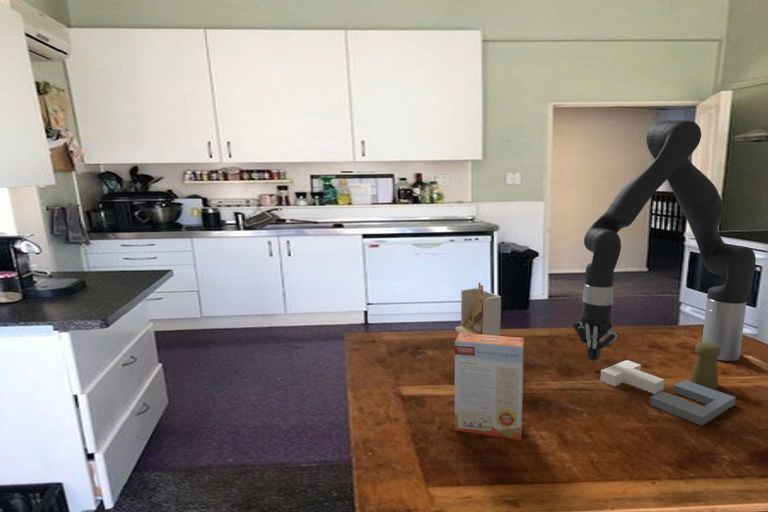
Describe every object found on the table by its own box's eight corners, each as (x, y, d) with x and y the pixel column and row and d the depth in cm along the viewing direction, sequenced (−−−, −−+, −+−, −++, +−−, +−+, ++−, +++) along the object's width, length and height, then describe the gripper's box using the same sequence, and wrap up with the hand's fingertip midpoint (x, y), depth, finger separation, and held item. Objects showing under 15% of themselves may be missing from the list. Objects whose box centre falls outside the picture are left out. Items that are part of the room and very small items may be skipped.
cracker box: (521, 426, 99) (525, 336, 95) (520, 442, 94) (524, 347, 90) (458, 417, 104) (459, 330, 100) (453, 431, 98) (454, 340, 94)
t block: (600, 380, 120) (600, 370, 119) (625, 369, 126) (626, 359, 126) (645, 399, 110) (646, 387, 109) (671, 386, 116) (672, 375, 115)
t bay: (649, 404, 107) (650, 397, 107) (683, 387, 115) (684, 379, 115) (701, 425, 98) (702, 417, 98) (734, 404, 106) (735, 397, 106)
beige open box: (474, 355, 139) (475, 275, 135) (499, 369, 129) (501, 283, 125) (453, 360, 136) (453, 278, 131) (477, 375, 126) (478, 287, 121)
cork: (723, 390, 113) (727, 348, 111) (696, 388, 114) (700, 347, 113) (711, 379, 119) (715, 340, 117) (685, 378, 120) (689, 338, 118)
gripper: (628, 303, 121) (623, 364, 124) (584, 293, 132) (580, 349, 135) (612, 308, 117) (607, 371, 120) (568, 297, 128) (564, 355, 131)
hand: (593, 359), depth 127 cm, fingers closed
